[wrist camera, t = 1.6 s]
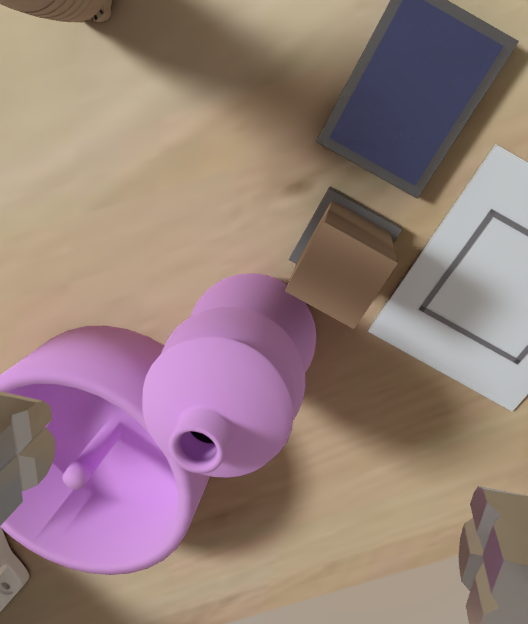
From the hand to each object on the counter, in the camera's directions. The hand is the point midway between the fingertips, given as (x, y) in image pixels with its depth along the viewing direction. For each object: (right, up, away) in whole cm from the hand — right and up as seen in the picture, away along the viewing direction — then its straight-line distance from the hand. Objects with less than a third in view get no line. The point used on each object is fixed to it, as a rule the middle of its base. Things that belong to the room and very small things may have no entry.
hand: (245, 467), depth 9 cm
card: (+14, +4, +18) cm, 23 cm away
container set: (-6, -2, +25) cm, 26 cm away
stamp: (+5, +7, +19) cm, 21 cm away
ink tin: (+8, +14, +15) cm, 22 cm away
